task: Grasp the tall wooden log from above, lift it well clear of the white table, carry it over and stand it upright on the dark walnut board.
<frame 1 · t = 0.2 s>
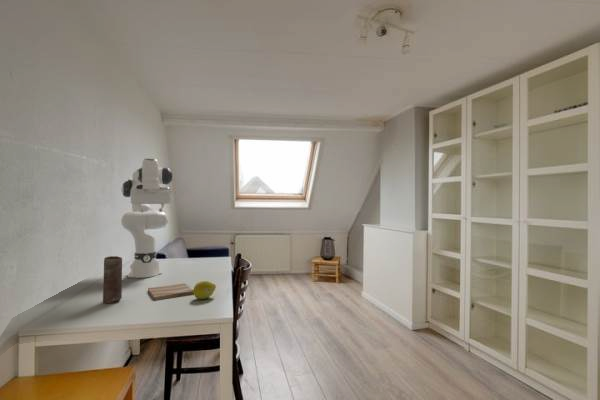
hand: (151, 212, 180), 39 cm above the table, tool pointing down, fingers open, 8 cm apart
wooden log: (112, 302, 148), on the table
lemon: (204, 299, 152), on the table
walnut board: (170, 292, 162), on the table
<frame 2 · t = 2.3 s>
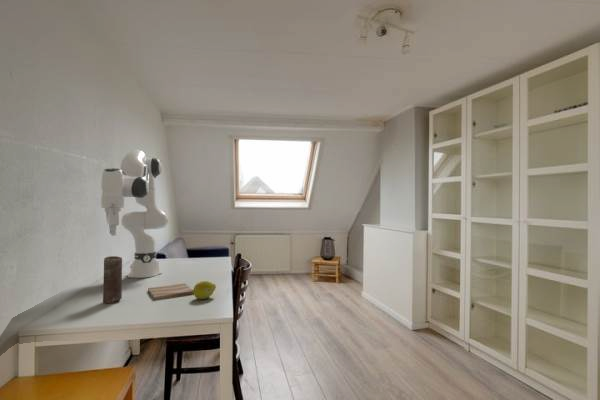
hand: (112, 234, 148), 30 cm above the table, tool pointing down, fingers open, 8 cm apart
nothing on the table moved.
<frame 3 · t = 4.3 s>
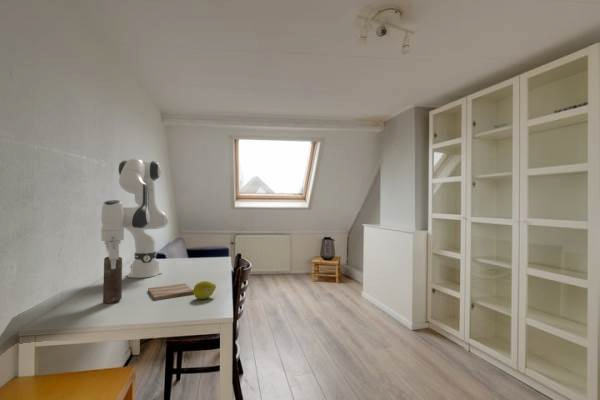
hand: (112, 266, 148), 16 cm above the table, tool pointing down, fingers closed on wooden log, 7 cm apart
wooden log: (112, 302, 148), on the table, touching gripper
everything else where it was.
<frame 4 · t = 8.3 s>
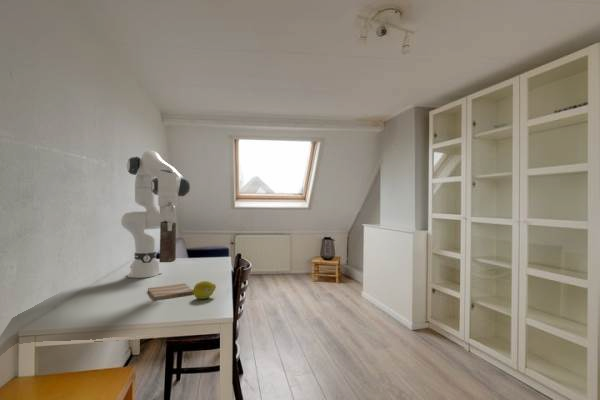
hand: (167, 230, 162), 31 cm above the table, tool pointing down, fingers closed on wooden log, 7 cm apart
wooden log: (167, 262, 161), point 15 cm above the table, touching gripper
everything else where it was.
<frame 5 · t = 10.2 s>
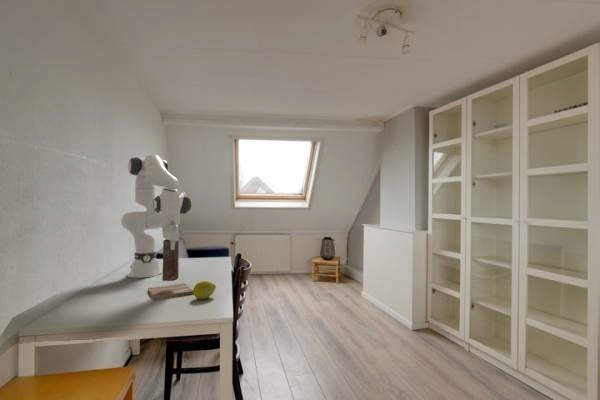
hand: (170, 248, 162), 22 cm above the table, tool pointing down, fingers closed on wooden log, 7 cm apart
wooden log: (170, 280, 162), point 6 cm above the table, touching gripper
everything else where it was.
when the fingers open (18 cm above the table, at t = 11.9 s): wooden log drops 1 cm, resting on walnut board.
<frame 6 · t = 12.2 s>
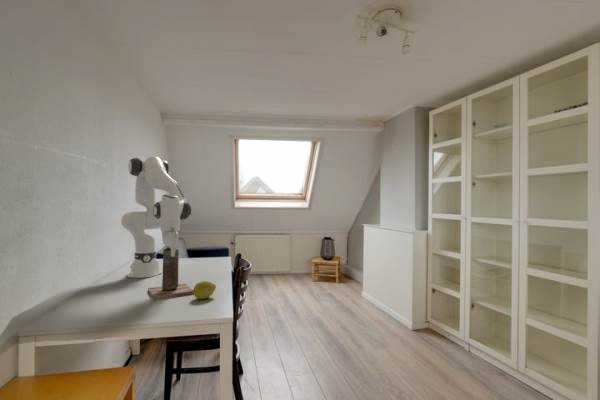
hand: (170, 255, 162), 19 cm above the table, tool pointing down, fingers open, 8 cm apart
wooden log: (170, 289, 163), point 1 cm above the table, touching gripper, walnut board
everything else where it was.
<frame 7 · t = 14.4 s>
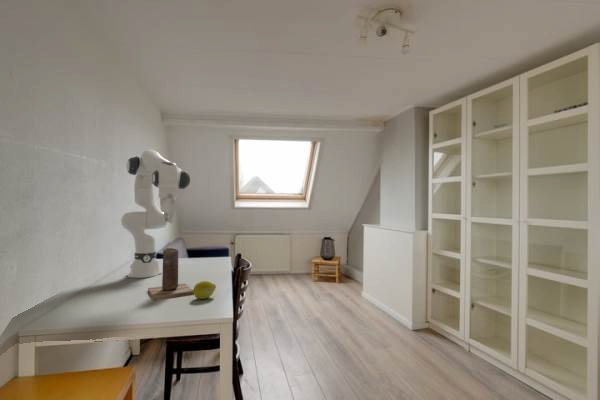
hand: (168, 222, 163), 35 cm above the table, tool pointing down, fingers open, 8 cm apart
wooden log: (170, 289, 163), point 1 cm above the table, touching walnut board
everything else where it was.
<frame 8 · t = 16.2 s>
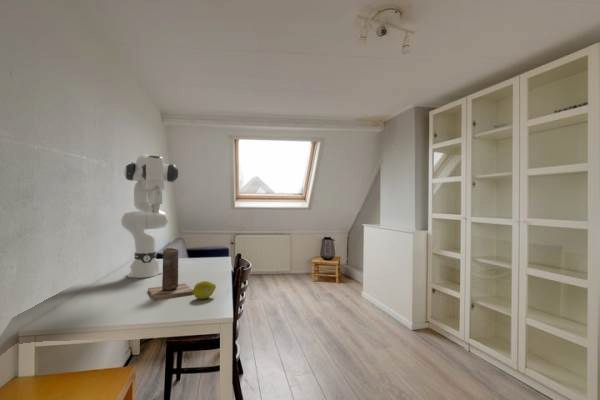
hand: (155, 213, 170), 39 cm above the table, tool pointing down, fingers open, 8 cm apart
nothing on the table moved.
at the end: wooden log inside the target area on the walnut board (0.6 cm from its centre), point 1.3 cm above the walnut board's base; wooden log tilted 0°; the gripper is holding nothing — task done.
